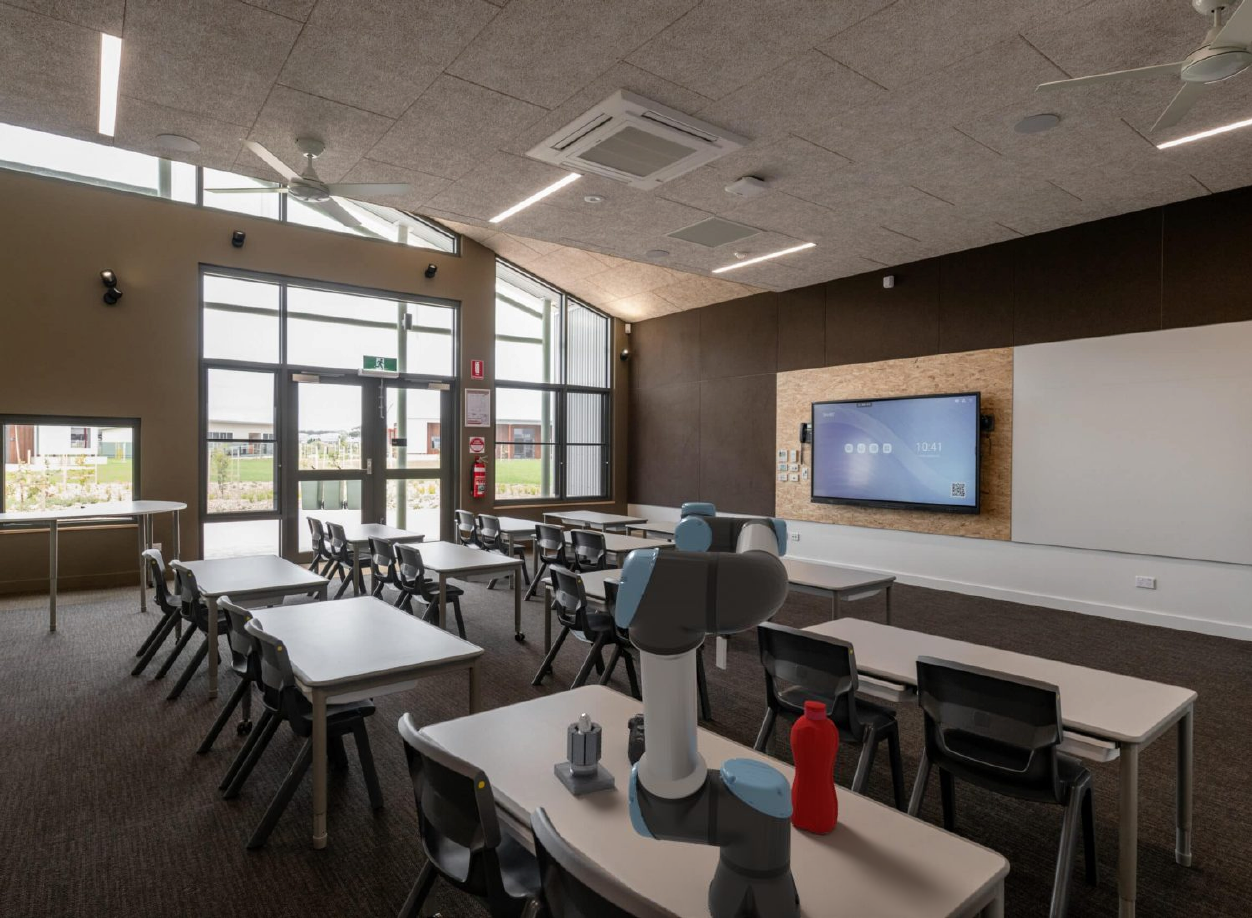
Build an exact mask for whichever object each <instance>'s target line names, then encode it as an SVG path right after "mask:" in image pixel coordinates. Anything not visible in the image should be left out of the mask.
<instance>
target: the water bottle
mask: <svg viewBox="0 0 1252 918" xmlns="http://www.w3.org/2000/svg"><path fill="white" fill-rule="evenodd" d="M839 736H840V735H839V730H838V729H837V727H836V724H835V722H833V720H831V719H830V718H828V717H827V704H825V703H824V702H823V703H822V702H818V701H814V700H813V701H812V700H805V702H804V714H803V715H801V716H800V717H799V718H798V719H797V720H796V721H795V722H794V724H793V725H792V727H791V732H790V740H789V742H790V747H791V751H792V757H793V761H794V776H793V777H794V778H793V781H792V785H791V802H792V807H793V812H792V815H791V825H793V826H794V827H796V828H798V829H802V830H805V831H809V832H813V833H815V834H818V835H822V834H828V833H830V832H831V831H833V830H834V827H835V826H836V824H837V823H838V817H839V800H838V796H837V791H836V790H837V789H836V787H835V780H834V777H833V776H834V766H835V761H836V758H837V753H838V750H839V746H840V745H839V744H840V737H839Z"/></svg>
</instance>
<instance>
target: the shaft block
mask: <svg viewBox="0 0 1252 918" xmlns="http://www.w3.org/2000/svg"><path fill="white" fill-rule="evenodd" d="M578 722H579V731H581V732H589V731H591V722H592V718H591V716H590V714H588V713H587V712H586V713H585V712H583V713H582V714H580V716H579V718H578ZM553 768H554V769H553V774H555V776H556V777H557V778H558V780H560V781H561V783H562V784H563V785H564V786H565V787H566V788H567V789H568V790H569V792H570V793H571V794H572V795H573V796H575V797H576V796H579V795H582V794H587V793H588V794H589V793H592V792H595V791H600V790H605V789H609V788H613V787H615V786H616V785H615V783H616V778H615V776H614V775H613V774H612V773H610V771H609V770H607V769H606V768H605V767H604V766H603V765H602V764H601V763H600V762H599V761H598V763H596V764H591V765H586V766H585V765H584V766H583V765H577V764H573V763H571V762H570V761H569V760H568V761H563V762H560V763H555V764H553Z"/></svg>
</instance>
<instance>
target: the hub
mask: <svg viewBox="0 0 1252 918" xmlns="http://www.w3.org/2000/svg"><path fill="white" fill-rule="evenodd" d="M566 732H567V737H566V742H567V743H566V759H567V760H568V762H569V761H570V762H571V763H573V764H577V765H583V766H584V765H585V766H586V765H591V764H596V763H598V762H599V761H600V760H601V759H602V743H603V741H602V740H603V739H602V735H603V733H602V732H603V727H602V726H601V725H600V724H598V723H597V722H593V721H591V731H589V732H581V731H579V721H576V722H573V723H570V725H569V726H567V731H566Z"/></svg>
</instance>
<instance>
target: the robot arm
mask: <svg viewBox="0 0 1252 918" xmlns="http://www.w3.org/2000/svg"><path fill="white" fill-rule="evenodd" d="M716 514H717V513H716V505H715V504H713V503H708V502H685V503H683V504H681V513H680V520H679V521H678V522H677V524H676V526H675V528H674V534H673V539H674V543H675V546H676V547H677V549H678V550H675V549H674V550H669V549H668V550H667V549H660V548H658V547H655V548H653V549H650V548H649V549H648V548H647V549H646V548H644V549H643V548H642V549H641V548H639V549H634V550H632V551H631V552H629V553H628V554H627V556H626V557H625V560H624V562H623V566H622V569H621V573H620V576H619V577H620V578H619V583H618V588H617V594H616V601H615V614H614V615H615V616H614V617H615V618H614V619H615V624H616V626H618V627H619V628H622V629H628V636H629V640H630V642H631V644H632V646H634V647H635V649H637V650H638V651H639V658H640V659H639V660H640V661H639V662H640V675H641V691H642V692H641V693H642V708H643V709H642V710H643V711H642V713H643V714H644V732H645V749H646V752H645V753H644V754H643V755H642V756H641V758H640V760H639V762H636V763H635V764H634V765H633V764H632V768H631V771H630V774H629V780H628V799H629V800H628V812H629V817H630V822H631V826H632V828H633V830H634V831H635V833H637V834H638V835H639V836H641V837H645V838H650V839H654V840H655V841H668V842H675V843H684V844H694V845H702V846H710V847H716V848H717V847H718V848H719V858H718V862H717V864H716V867H715V872H714V875H713V878H712V879H711V882H710V884H709V885H708V886H709V887H708V892H707V894H708V895H707V905H708V906H707V908H708V907H709V908H708V911H709V910H710V911H709V914H710V913H711V914H712V916H713V917H712V916H711V917H712V918H801V908H802V907H801V900H800V896H799V892H798V889H797V886H796V882H795V879H794V876H793V875H794V874H793V872H792V869H791V854H792V853H791V852H792V848H791V847H792V846H791V845H792V844H791V842H792V838H791V837H792V835H791V834H792V823H791V815H792V812H793V807H792V802H791V789H792V786H791V784H790V782H789V780H788V779H787V777H786V776H785V775H784V774H783V773H782V772H781V771H780V770H778V769H776V768H775V767H773V766H771V765H770V764H768V763H766V762H762V761H760V760H757V759H753V758H752V759H751V758H747V757H736V758H735V759H734V758H730V759H727V760H726V761H724V762H723V764H722V765H721V767H720V769H716V768H709V767H708V765H707V762H706V759H705V758H704V756H703V754H702V753H700V751H699V750H698V749H699V748H698V746H699V745H698V743H699V742H698V710H697V709H698V697H697V696H698V695H697V657H696V656H697V649H699V647H700V646H701V645H702V644H703V643H704V641H705V639H706V634H719V636H716V649H715V650H716V651H715V652H716V653H715V654H716V655H715V656H716V657H715V660H716V661H715V666H716V667H718V668H719V669H721V670H726V669H727V653H729V651H730V641H731V640H732V639H733V636H736V635H737V633H741V632H745V631H749V630H750V629H753V628H755V627H758V626H759V625H762V624H763V623H764V622H765V623H766V621H768V620H769V619H770V618H771V617H773V616H774V615H775V614H776V613H777V612H778V611H779V609H781V607H782V606H783V605H784V603H785V600H786V598H787V596H788V593H789V584H790V583H789V576H788V575H789V574H788V572H787V569H786V566H785V565H784V563H783V562H782V561H781V559H780V557H784V556H785V555H786V553H787V547H788V546H787V544H788V530H787V529H788V527H787V525H788V524H787V522H786V520H783V519H780V518H779V519H778V518H771V517H766V518H764V517H763V518H761V517H760V518H759V517H733V516H732V517H731V516H730V517H729V516H717V515H716ZM711 914H710V915H711Z"/></svg>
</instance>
